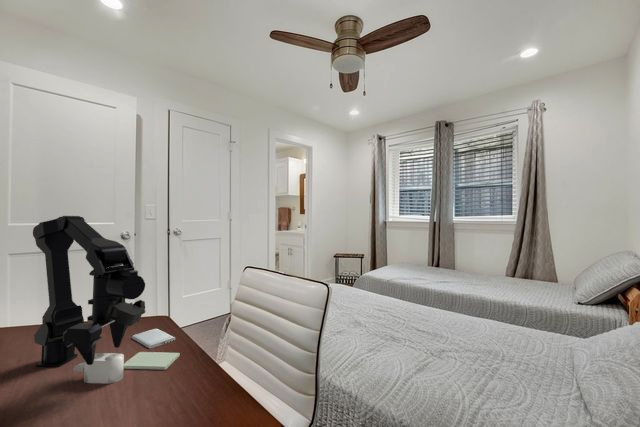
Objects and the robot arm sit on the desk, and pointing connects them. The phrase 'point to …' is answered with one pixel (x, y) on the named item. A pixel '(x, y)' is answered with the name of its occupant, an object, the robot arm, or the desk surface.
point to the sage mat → (151, 360)
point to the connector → (103, 368)
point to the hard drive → (153, 338)
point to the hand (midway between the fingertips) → (104, 355)
